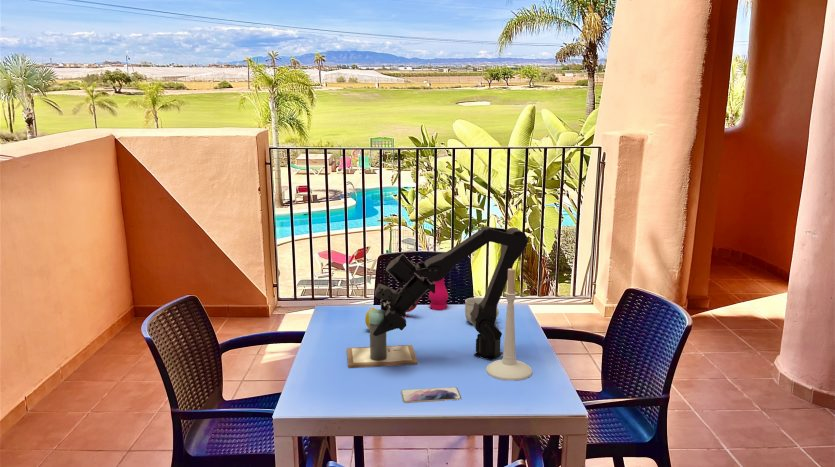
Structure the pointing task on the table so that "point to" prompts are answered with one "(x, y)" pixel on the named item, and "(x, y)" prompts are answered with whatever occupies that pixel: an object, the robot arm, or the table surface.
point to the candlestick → (509, 343)
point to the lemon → (368, 318)
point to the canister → (377, 342)
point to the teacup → (469, 307)
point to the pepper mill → (439, 296)
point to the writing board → (394, 358)
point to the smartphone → (430, 394)
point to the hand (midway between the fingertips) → (373, 331)
